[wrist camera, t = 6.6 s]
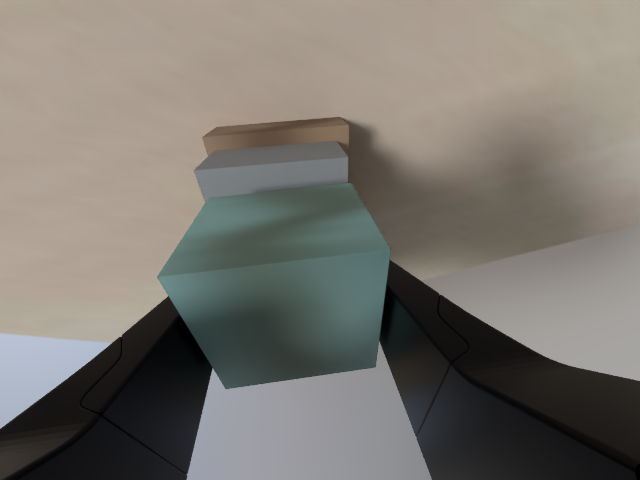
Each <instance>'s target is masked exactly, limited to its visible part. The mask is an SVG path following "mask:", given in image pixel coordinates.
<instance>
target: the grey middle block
mask: <svg viewBox="0 0 640 480" xmlns="http://www.w3.org/2000/svg"><path fill="white" fill-rule="evenodd" d="M194 172H195V175H196V178H197V181H198V184H199V186H200V189H201V192H202V195H203V198H204V200H205V203H206V201H207V200H208V198H210V197H220V196H229V195H239V194H249V193H258V192H268V191H278V190H287V189H297V188H307V187H316V186H326V185H335V184H345V183H348V156H347V155H346V154H345V152H344V151H343V149H342V148H341V147H340V145H339V144H338V142H337V141H327V142H315V143H302V144H290V145H278V146H265V147H253V148H241V149H229V150H217V151H213V152H212V153H211V154H210V155H209V156H208V157H207V158H206V159H205V160H204V161H203V162H202V163H201V164H200V165H199V166H198V167H197V168H196V169H195V170H194Z"/></svg>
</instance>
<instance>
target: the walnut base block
mask: <svg viewBox="0 0 640 480" xmlns="http://www.w3.org/2000/svg"><path fill="white" fill-rule="evenodd" d="M202 138H203V141H204V144H205V148H206V151H207V154H208V156H209V155H210V154H211V153H212V152H213V151H217V150H229V149H241V148H253V147H265V146H278V145H290V144H302V143H315V142H327V141H337V142H338V144H339V145H340V147H341V148H342V149H343V151H344V152H345V154H346V155H347V156H348V183H349V124H347V123H346V122H345V121H344V120H343V119H341V118H340V117H333V118H321V119H309V120H297V121H285V122H273V123H261V124H249V125H237V126H225V127H216V128H215V129H213V130H212V131H210V132H209V133H207V134H206V135H205V136H203V137H202Z"/></svg>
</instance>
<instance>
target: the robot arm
mask: <svg viewBox="0 0 640 480" xmlns="http://www.w3.org/2000/svg"><path fill="white" fill-rule="evenodd" d="M379 341H380V344H381V346H382V349H383V351H384V354H385V357H386V359H387V362H388V365H389V367H390V370H391V372H392V375H393V378H394V380H395V383H396V386H397V388H398V391H399V393H400V396H401V399H402V401H403V404H404V407H405V409H406V411H407V414H408V417H409V420H410V422H411V425H412V428H413V430H414V433H415V435H416V437H417V441H418V443H419V446H420V449H421V452H422V454H423V457H424V459H425V462H426V465H427V467H428V470H429V473H430V475H431V478H432V480H640V381H636V380H631V379H627V378H623V377H618V376H613V375H609V374H604V373H599V372H594V371H590V370H585V369H580V368H576V367H572V366H568V365H565V364H562V363H559V362H556V361H554V360H551V359H549V358H547V357H545V356H543V355H541V354H539V353H537V352H535V351H533V350H531V349H530V348H528V347H526V346H524V345H523V344H521V343H519V342H517V341H516V340H514V339H512V338H510V337H509V336H507V335H505V334H503V333H502V332H500V331H498V330H496V329H495V328H493V327H491V326H490V325H488V324H486V323H484V322H483V321H481V320H480V319H478V318H476V317H475V316H473V315H471V314H470V313H468V312H466V311H464V310H463V309H462V308H460V307H459V306H457V305H456V304H454V303H452V302H451V301H449V300H448V299H447V298H445V297H444V296H442V295H440V296H439V293H438V292H436V291H435V290H433V289H432V288H430V287H429V286H427V285H426V284H424V283H423V282H422V281H420V280H419V279H417V278H416V277H414V276H413V275H411V274H410V273H409V272H407V271H406V270H404V269H403V268H401V267H400V266H398V265H397V264H395V263H394V262H392V261H391V260H390V259H389V267H388V275H387V283H386V290H385V298H384V306H383V314H382V321H381V329H380V337H379ZM212 368H213V367H212V366H211V364H210V362H209V361H208V359H207V358H206V356H205V354H204V353H203V351H202V349H201V348H200V346H199V345H198V343H197V341H196V340H195V338H194V336H193V335H192V333H191V332H190V330H189V328H188V327H187V325H186V323H185V322H184V320H183V319H182V317H181V315H180V314H179V312H178V310H177V309H176V307H175V306H174V304H173V302H172V301H171V299H170V297H169V296H168V297H167V298H166V299H164V300H163V301H162V302H161V303H160V304H158V305H157V306H156V307H155V308H154V309H152V310H151V311H150V312H149V313H148V314H146V315H145V316H144V317H143V318H142V319H140V320H139V321H138V322H137V323H136V324H134V325H133V326H132V327H131V328H130V329H128V330H127V331H126V332H125V333H124V334H123V335H122V337H119V338H118V339H116V340H115V341H114V342H113V343H112V344H110V345H109V346H108V347H107V348H106V349H104V350H103V351H102V352H101V353H99V354H98V355H97V356H96V357H95V358H94V359H92V360H91V361H90V362H88V363H87V364H86V365H85V366H83V367H82V368H81V369H79V370H78V371H77V372H75V373H74V374H73V375H71V376H70V377H69V378H68V379H66V380H65V381H64V382H62V383H61V384H60V385H58V386H57V387H56V388H54V389H53V390H52V391H50V392H49V393H48V394H46V395H45V396H44V397H42V398H41V399H40V400H38V401H37V402H36V403H34V404H33V405H32V406H30V407H29V408H28V409H26V410H25V411H24V412H22V413H21V414H20V415H18V416H17V417H16V418H14V419H13V420H12V421H10V422H9V423H8V424H6V425H5V426H4V427H2V428H1V429H0V480H186V479H187V475H186V474H187V473H188V469H189V466H190V461H191V457H192V453H193V448H194V444H195V440H196V436H197V431H198V427H199V423H200V419H201V414H202V410H203V406H204V402H205V397H206V393H207V389H208V385H209V380H210V376H211V372H212Z"/></svg>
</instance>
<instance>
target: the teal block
mask: <svg viewBox="0 0 640 480" xmlns="http://www.w3.org/2000/svg"><path fill="white" fill-rule="evenodd" d="M390 252H391V249H390V247H389V245H388V244H387V242H386V240H385V239H384V237H383V235H382V234H381V232H380V230H379V228H378V227H377V225H376V223H375V222H374V220H373V218H372V217H371V215H370V213H369V212H368V210H367V208H366V207H365V205H364V203H363V201H362V200H361V198H360V196H359V195H358V193H357V191H356V190H355V188H354V186H353V185H352V183H345V184H335V185H326V186H316V187H307V188H297V189H287V190H278V191H268V192H258V193H249V194H239V195H229V196H220V197H210V198H208V200H207V201H206V203H205V204H204V206H203V208H202V209H201V211H200V212H199V214H198V215H197V217H196V218H195V220H194V221H193V223H192V224H191V226H190V227H189V229H188V230H187V232H186V234H185V235H184V237H183V238H182V240H181V241H180V243H179V244H178V246H177V247H176V249H175V250H174V252H173V253H172V255H171V257H170V258H169V260H168V261H167V263H166V264H165V266H164V267H163V269H162V270H161V272H160V273H159V275H158V276H157V278H158V280H159V281H160V283H161V284H162V286H163V288H164V289H165V291H166V293H167V294H168V296H169V297H170V299H171V301H172V302H173V304H174V306H175V307H176V309H177V310H178V312H179V314H180V315H181V317H182V319H183V320H184V322H185V323H186V325H187V327H188V328H189V330H190V332H191V333H192V335H193V336H194V338H195V340H196V341H197V343H198V345H199V346H200V348H201V349H202V351H203V353H204V354H205V356H206V358H207V359H208V361H209V362H210V364H211V366H212V367H213V369H214V370H215V372H216V373H217V375H218V377H219V379H220V380H221V382H222V384H223V385H224V387H225V388H226V389H229V388H236V387H243V386H250V385H257V384H264V383H270V382H277V381H285V380H292V379H298V378H305V377H312V376H319V375H326V374H332V373H340V372H346V371H353V370H359V369H367V368H374V367H376V360H377V352H378V345H379V337H380V329H381V321H382V314H383V306H384V298H385V290H386V283H387V275H388V267H389V259H390Z"/></svg>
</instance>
